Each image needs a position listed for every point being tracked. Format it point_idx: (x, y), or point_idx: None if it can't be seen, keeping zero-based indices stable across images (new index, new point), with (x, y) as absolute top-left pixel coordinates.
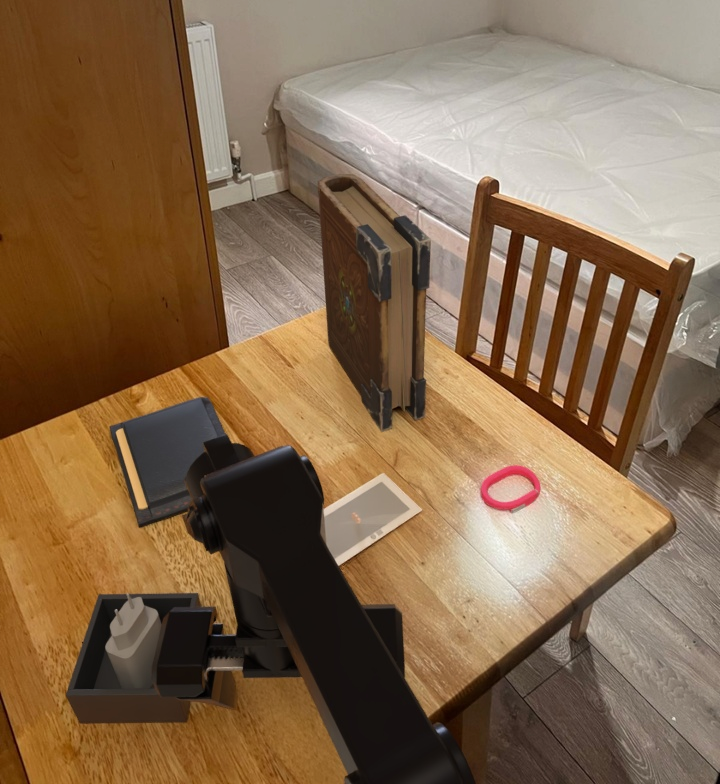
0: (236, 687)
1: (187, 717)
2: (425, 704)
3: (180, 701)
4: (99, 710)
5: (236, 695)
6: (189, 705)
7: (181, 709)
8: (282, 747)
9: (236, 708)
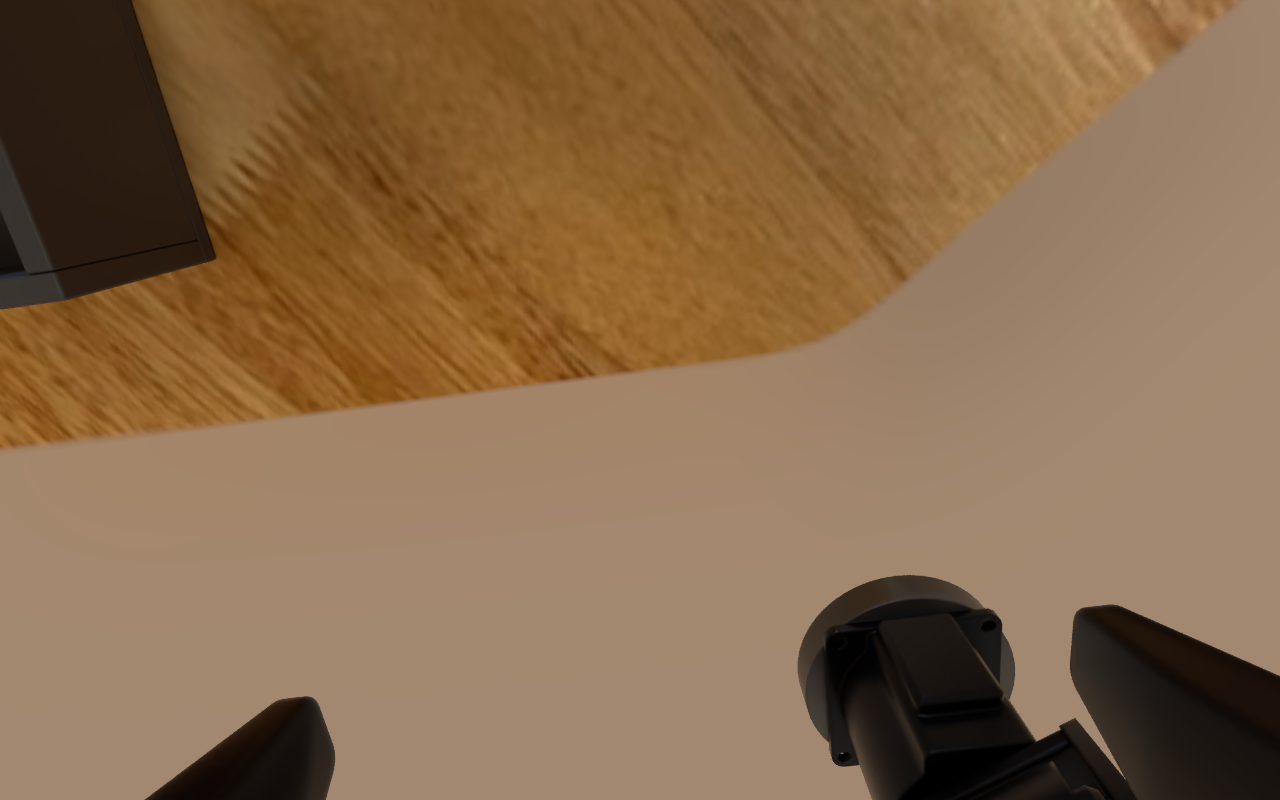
0: (251, 785)
1: (209, 243)
2: (1099, 72)
3: (116, 282)
4: None
5: (285, 780)
6: (192, 203)
7: (152, 276)
8: (579, 296)
9: (332, 768)
